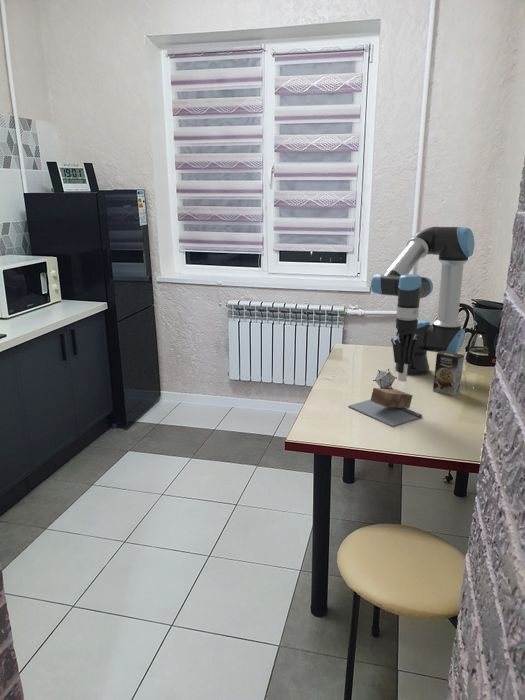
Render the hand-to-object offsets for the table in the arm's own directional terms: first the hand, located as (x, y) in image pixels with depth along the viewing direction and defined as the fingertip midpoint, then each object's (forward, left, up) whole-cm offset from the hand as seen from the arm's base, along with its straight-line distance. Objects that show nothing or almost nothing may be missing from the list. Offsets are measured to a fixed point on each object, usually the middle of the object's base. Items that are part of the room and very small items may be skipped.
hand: (402, 380), depth 191 cm
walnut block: (-2, 0, -8) cm, 8 cm away
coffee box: (-29, -1, -11) cm, 31 cm away
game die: (-11, -18, -11) cm, 24 cm away
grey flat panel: (+9, 0, -11) cm, 14 cm away
